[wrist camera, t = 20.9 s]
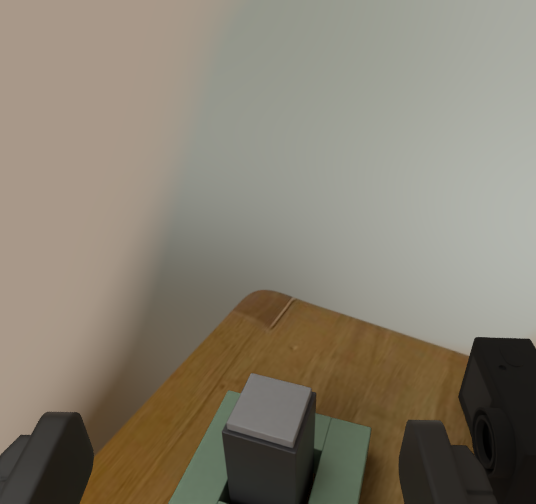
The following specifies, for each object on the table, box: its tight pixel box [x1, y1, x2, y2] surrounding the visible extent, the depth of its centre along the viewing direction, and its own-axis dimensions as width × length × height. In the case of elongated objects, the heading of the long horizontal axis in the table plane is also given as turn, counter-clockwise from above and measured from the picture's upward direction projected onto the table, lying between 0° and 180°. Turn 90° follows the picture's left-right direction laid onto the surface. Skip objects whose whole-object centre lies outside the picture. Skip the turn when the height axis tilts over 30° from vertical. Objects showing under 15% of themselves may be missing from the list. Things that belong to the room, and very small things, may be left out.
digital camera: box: [458, 337, 536, 504], centre depth 33 cm, size 10×5×7 cm, turn 175°
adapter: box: [168, 390, 371, 504], centre depth 32 cm, size 12×12×3 cm
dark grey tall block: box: [222, 373, 316, 504], centre depth 30 cm, size 4×4×10 cm
